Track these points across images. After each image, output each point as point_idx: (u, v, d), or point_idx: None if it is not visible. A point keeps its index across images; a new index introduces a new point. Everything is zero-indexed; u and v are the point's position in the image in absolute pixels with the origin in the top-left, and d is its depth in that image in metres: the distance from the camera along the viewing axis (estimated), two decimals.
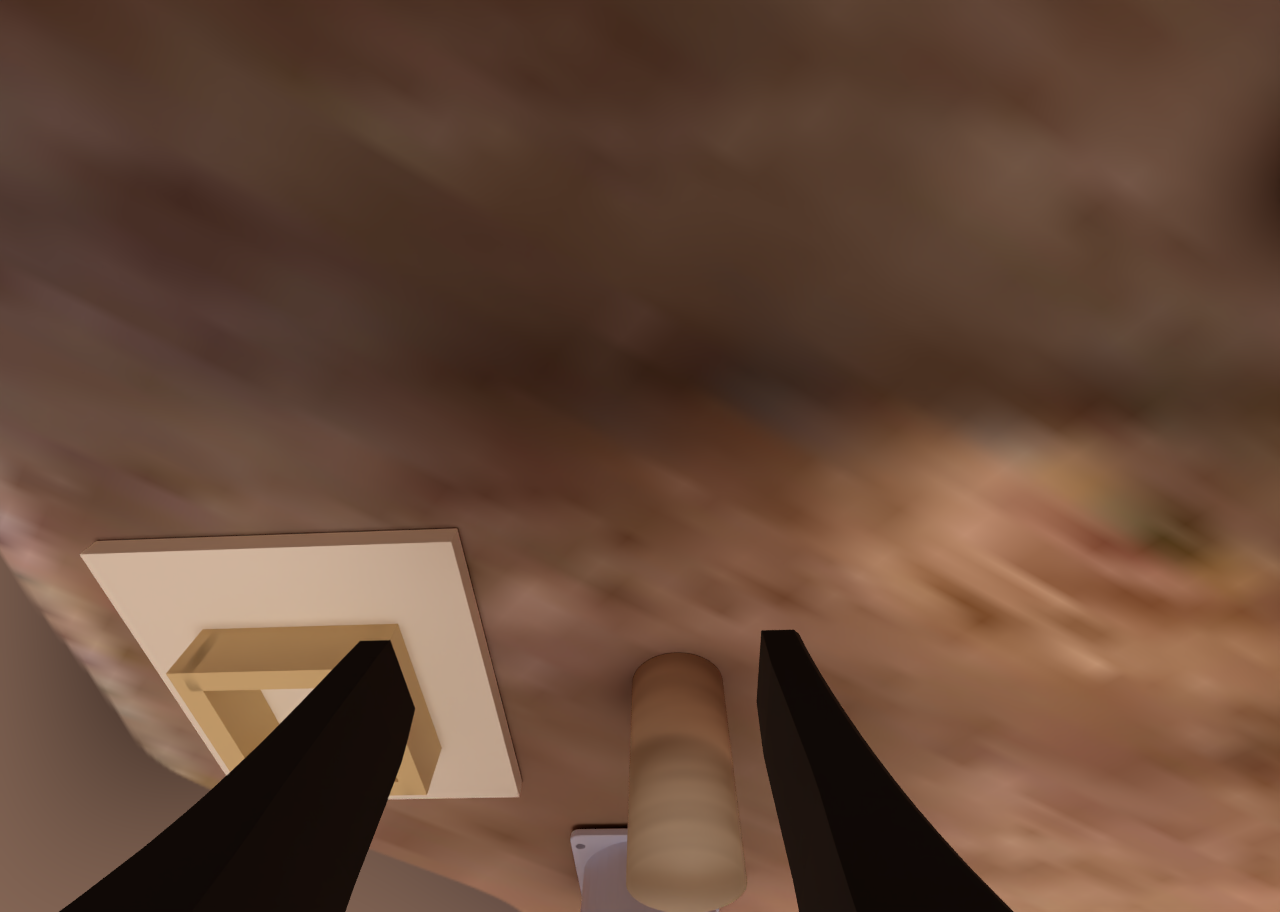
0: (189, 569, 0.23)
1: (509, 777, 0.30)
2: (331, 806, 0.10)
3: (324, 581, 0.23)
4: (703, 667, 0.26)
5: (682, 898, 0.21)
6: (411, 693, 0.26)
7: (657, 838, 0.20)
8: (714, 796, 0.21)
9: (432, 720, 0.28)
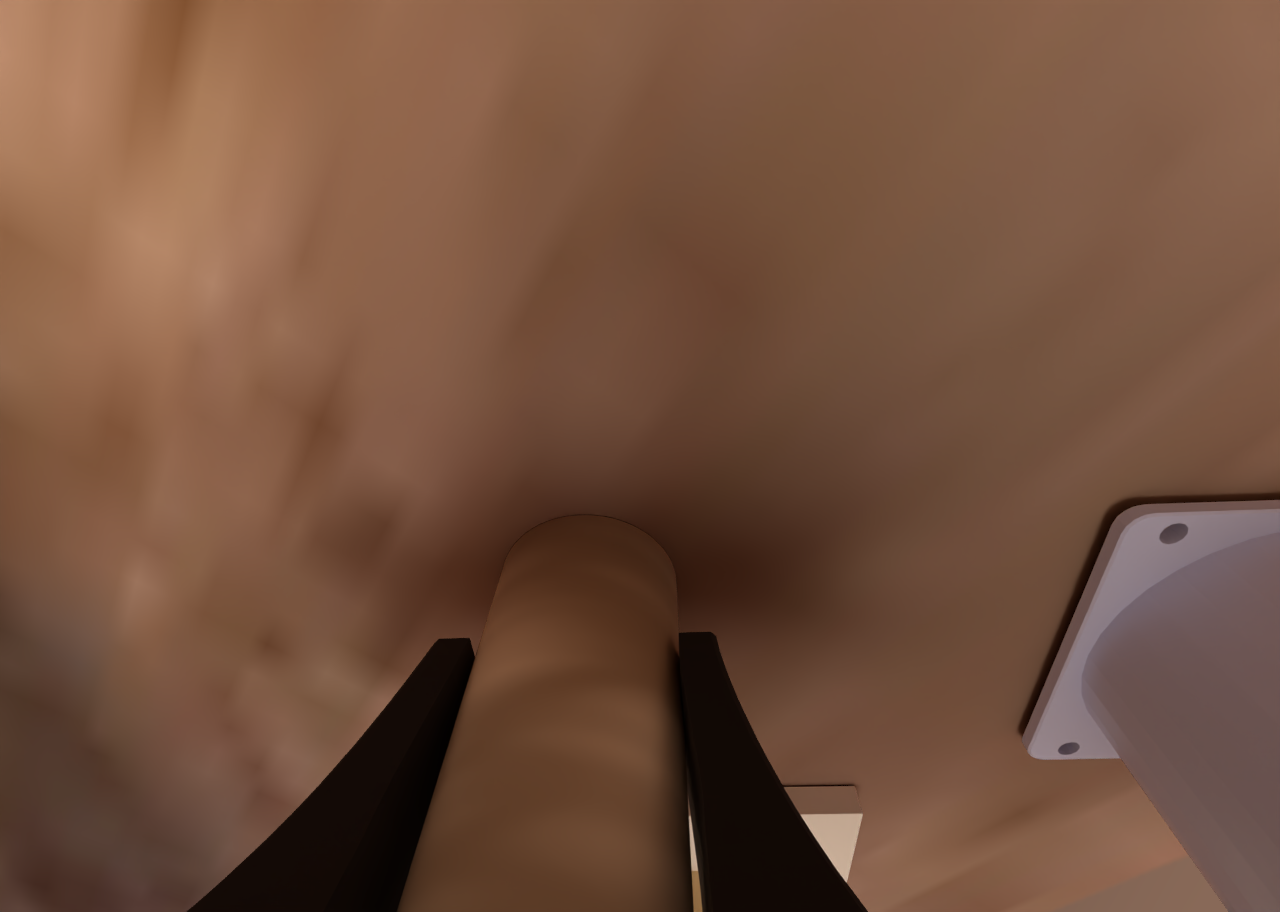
0: None
1: None
2: (426, 805, 0.10)
3: None
4: (506, 564, 0.13)
5: None
6: None
7: None
8: (425, 829, 0.09)
9: None
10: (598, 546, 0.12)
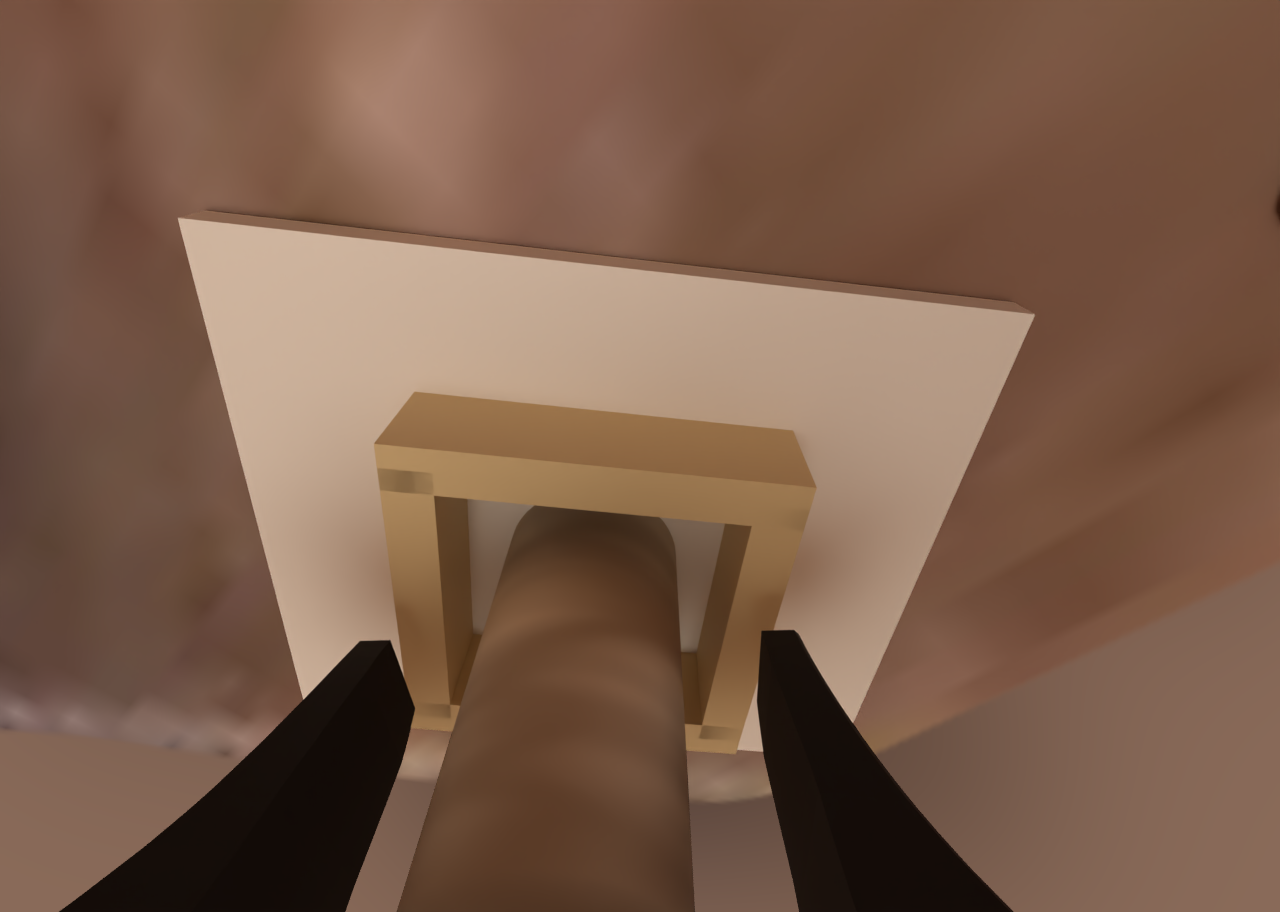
0: (317, 625, 0.16)
1: (946, 315, 0.12)
2: (331, 806, 0.10)
3: (318, 471, 0.14)
4: (515, 535, 0.14)
5: None
6: (564, 423, 0.12)
7: None
8: (446, 761, 0.09)
9: (699, 420, 0.13)
10: (602, 516, 0.13)
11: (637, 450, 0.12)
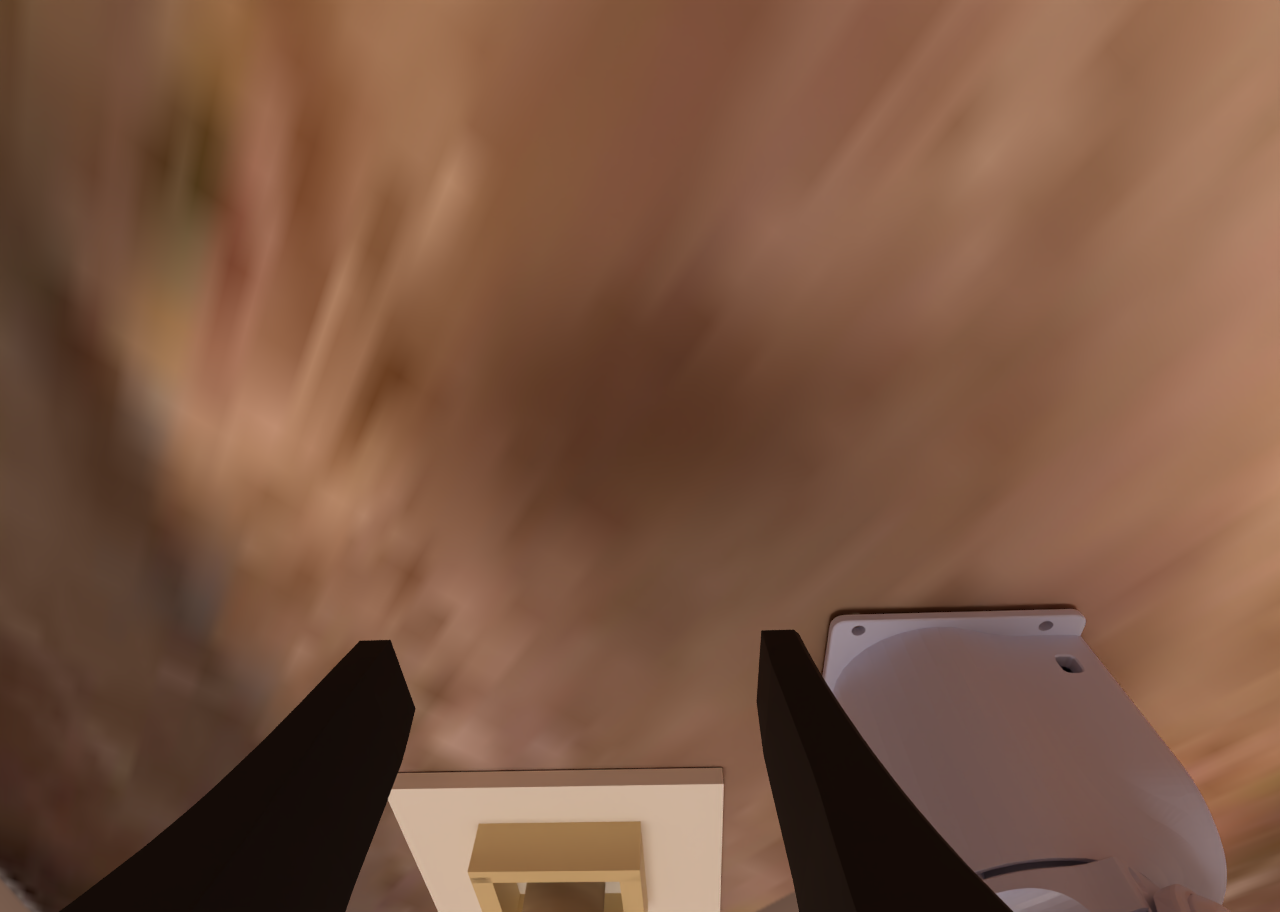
0: (447, 896, 0.34)
1: (687, 787, 0.29)
2: (331, 806, 0.10)
3: (442, 848, 0.32)
4: None
5: None
6: (540, 838, 0.30)
7: None
8: None
9: (599, 821, 0.30)
10: None
11: (569, 854, 0.29)
